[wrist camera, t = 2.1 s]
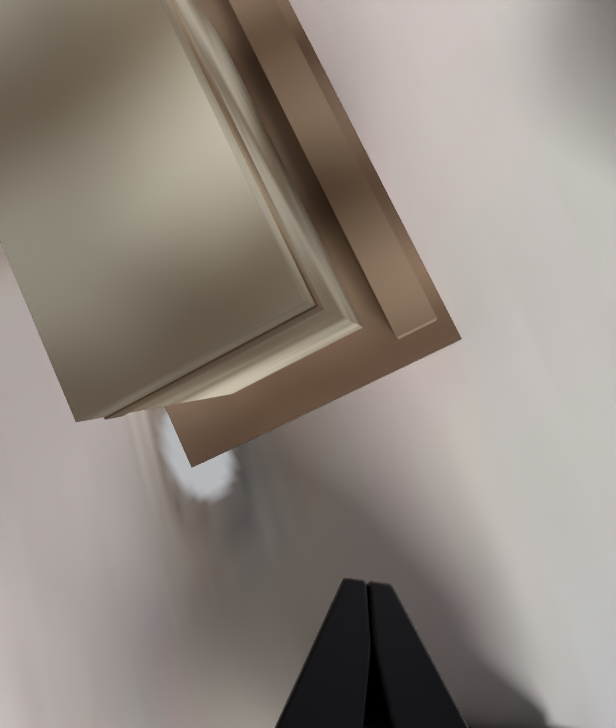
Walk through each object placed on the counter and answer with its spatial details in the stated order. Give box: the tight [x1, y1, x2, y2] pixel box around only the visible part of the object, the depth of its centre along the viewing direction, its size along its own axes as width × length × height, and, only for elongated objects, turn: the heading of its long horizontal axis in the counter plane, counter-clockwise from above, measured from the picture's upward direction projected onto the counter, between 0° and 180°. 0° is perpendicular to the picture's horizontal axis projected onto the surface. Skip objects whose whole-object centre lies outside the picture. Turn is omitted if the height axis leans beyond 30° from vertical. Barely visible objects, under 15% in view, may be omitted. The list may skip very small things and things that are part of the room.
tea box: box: [0, 0, 363, 422], centre depth 15 cm, size 13×6×9 cm, turn 27°
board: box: [165, 0, 462, 467], centre depth 20 cm, size 26×12×5 cm, turn 27°
